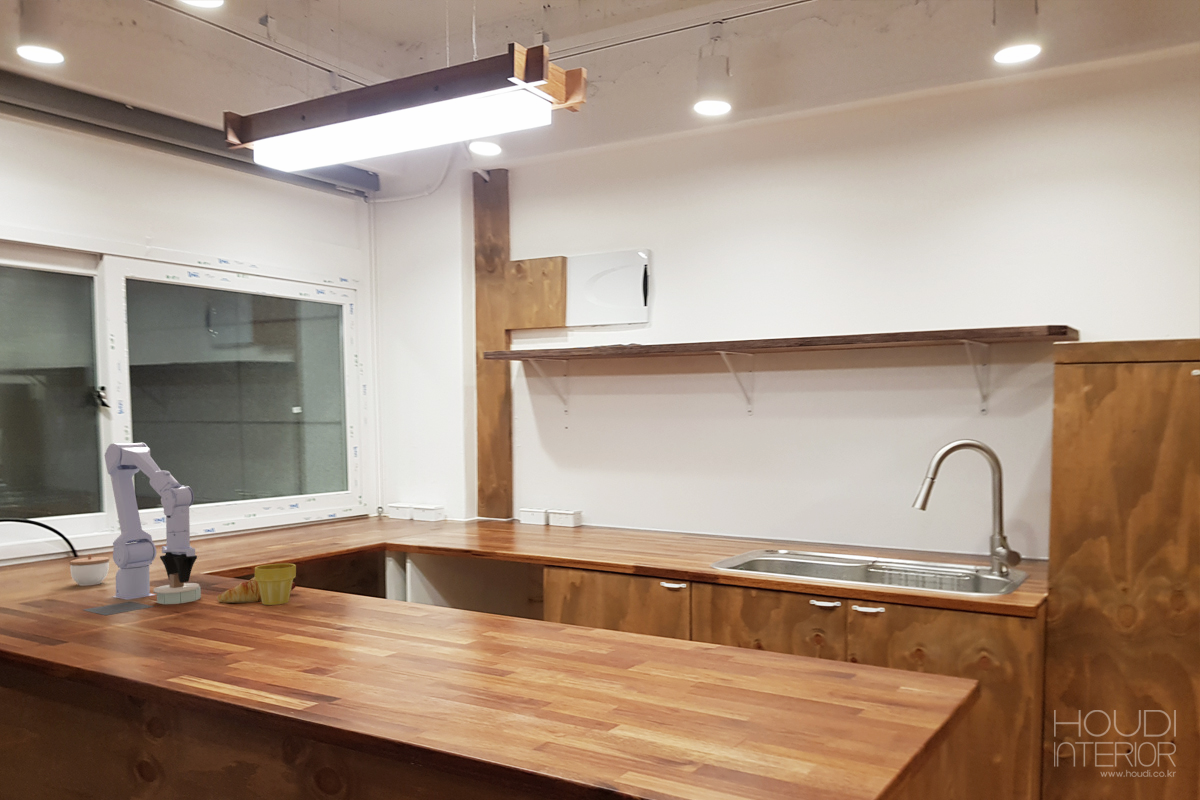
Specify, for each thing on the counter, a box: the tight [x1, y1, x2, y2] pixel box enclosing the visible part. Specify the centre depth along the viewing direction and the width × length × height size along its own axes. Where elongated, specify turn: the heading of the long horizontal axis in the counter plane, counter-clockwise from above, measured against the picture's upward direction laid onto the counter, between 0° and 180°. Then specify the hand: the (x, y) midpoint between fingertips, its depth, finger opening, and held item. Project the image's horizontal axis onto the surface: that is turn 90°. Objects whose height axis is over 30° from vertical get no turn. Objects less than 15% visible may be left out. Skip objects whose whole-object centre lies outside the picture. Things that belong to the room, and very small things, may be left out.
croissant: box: [216, 576, 297, 604], centre depth 233 cm, size 21×10×8 cm, turn 133°
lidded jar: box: [69, 553, 110, 587], centre depth 269 cm, size 11×11×9 cm
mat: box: [82, 601, 155, 616], centre depth 223 cm, size 14×12×1 cm
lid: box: [153, 573, 200, 595], centre depth 232 cm, size 11×11×4 cm
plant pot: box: [254, 562, 297, 606], centre depth 227 cm, size 10×10×10 cm
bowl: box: [156, 586, 202, 605], centre depth 232 cm, size 10×10×4 cm
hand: (178, 581), depth 232 cm, fingers open, 5 cm apart
